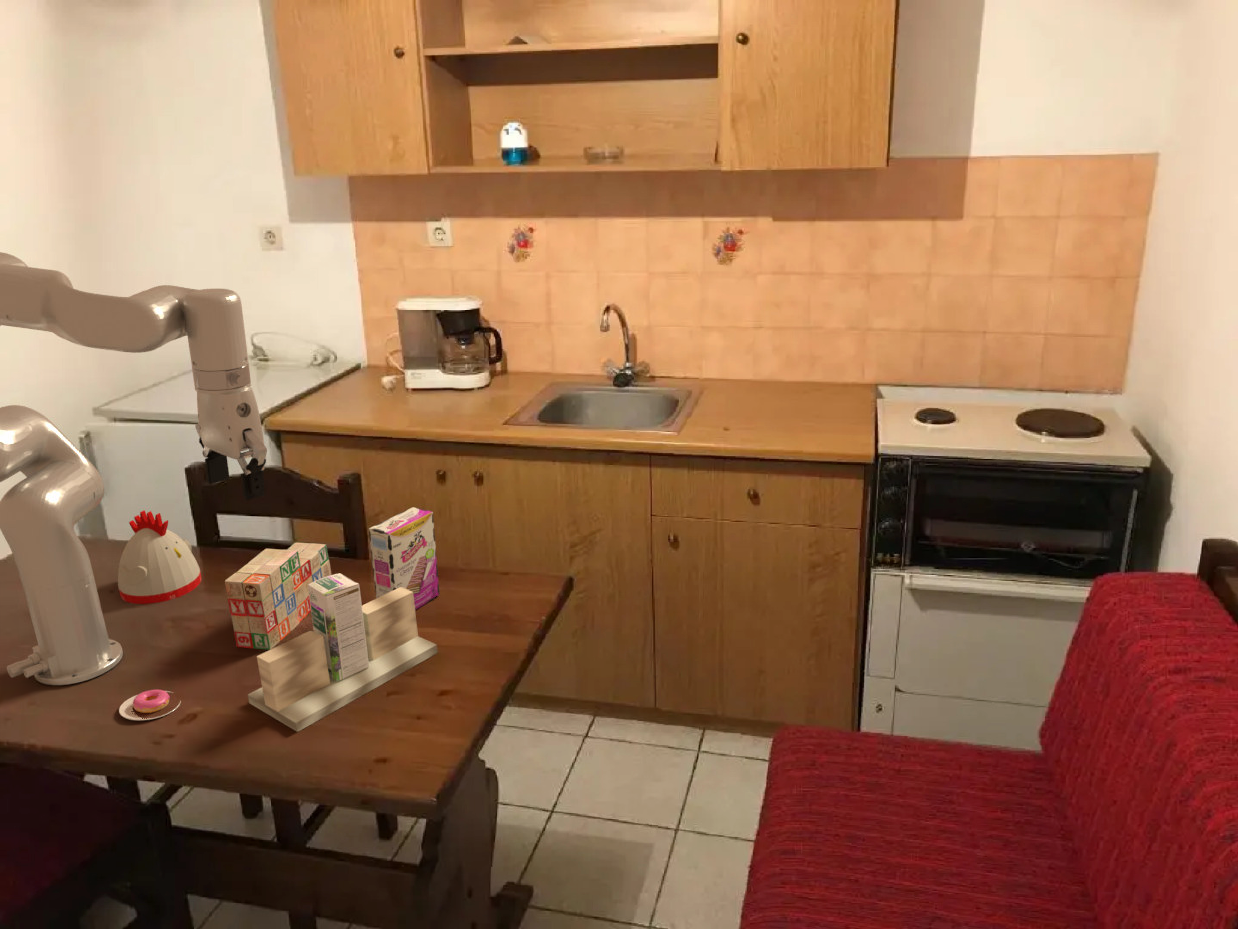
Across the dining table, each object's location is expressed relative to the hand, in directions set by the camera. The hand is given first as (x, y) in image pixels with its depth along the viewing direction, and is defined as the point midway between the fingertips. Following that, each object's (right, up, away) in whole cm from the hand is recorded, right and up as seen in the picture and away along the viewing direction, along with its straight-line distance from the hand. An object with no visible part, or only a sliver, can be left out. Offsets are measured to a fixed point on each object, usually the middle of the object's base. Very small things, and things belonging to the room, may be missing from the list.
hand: (236, 489), depth 146 cm
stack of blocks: (0, -23, +23) cm, 33 cm away
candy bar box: (+20, -21, +26) cm, 39 cm away
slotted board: (+15, -29, +5) cm, 33 cm away
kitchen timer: (-28, -19, +36) cm, 49 cm away
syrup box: (+15, -28, +4) cm, 32 cm away
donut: (-13, -33, -2) cm, 36 cm away
